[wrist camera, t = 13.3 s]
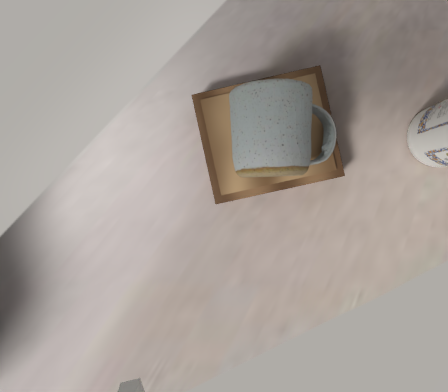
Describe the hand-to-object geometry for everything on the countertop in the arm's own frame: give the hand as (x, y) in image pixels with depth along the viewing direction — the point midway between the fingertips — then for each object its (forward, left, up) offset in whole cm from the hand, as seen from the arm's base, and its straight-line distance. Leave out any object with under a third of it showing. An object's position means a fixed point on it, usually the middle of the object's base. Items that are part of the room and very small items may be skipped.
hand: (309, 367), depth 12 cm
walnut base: (+4, +13, -24) cm, 28 cm away
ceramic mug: (+5, +12, -21) cm, 25 cm away
